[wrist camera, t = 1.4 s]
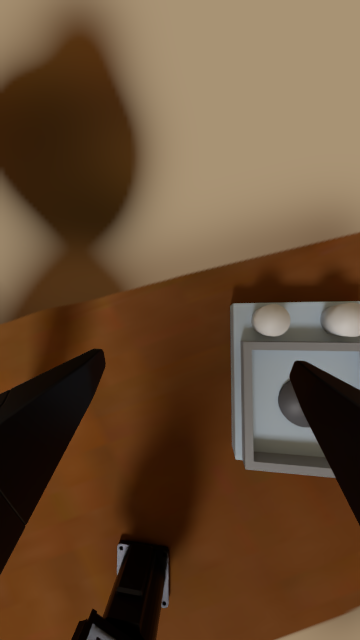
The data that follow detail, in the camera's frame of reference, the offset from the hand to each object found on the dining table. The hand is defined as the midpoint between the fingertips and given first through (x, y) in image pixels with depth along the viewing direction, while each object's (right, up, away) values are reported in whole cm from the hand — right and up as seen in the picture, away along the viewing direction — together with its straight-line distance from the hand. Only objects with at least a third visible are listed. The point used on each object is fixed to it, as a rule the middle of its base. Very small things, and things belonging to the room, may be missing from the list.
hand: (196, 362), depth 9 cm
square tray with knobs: (+12, -5, +13) cm, 19 cm away
